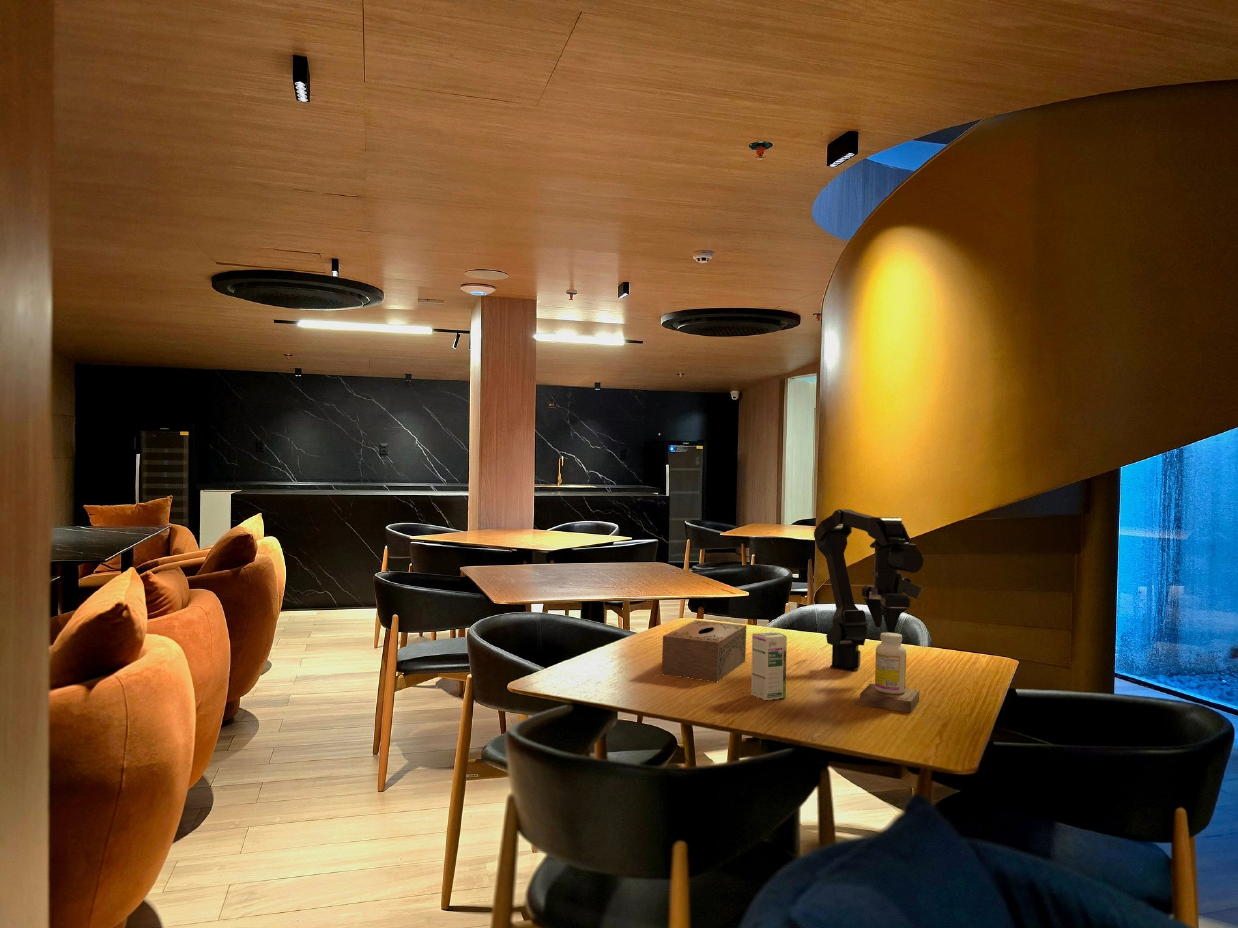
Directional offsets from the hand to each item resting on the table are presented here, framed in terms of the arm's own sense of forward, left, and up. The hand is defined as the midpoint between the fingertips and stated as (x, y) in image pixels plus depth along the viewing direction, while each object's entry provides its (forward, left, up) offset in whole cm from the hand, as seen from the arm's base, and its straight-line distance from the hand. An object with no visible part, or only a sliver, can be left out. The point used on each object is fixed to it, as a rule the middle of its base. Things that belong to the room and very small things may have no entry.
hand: (884, 630), depth 210 cm
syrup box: (-20, -29, -13) cm, 38 cm away
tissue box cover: (-43, -11, -14) cm, 46 cm away
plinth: (+5, -18, -13) cm, 23 cm away
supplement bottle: (+5, -18, -10) cm, 21 cm away
